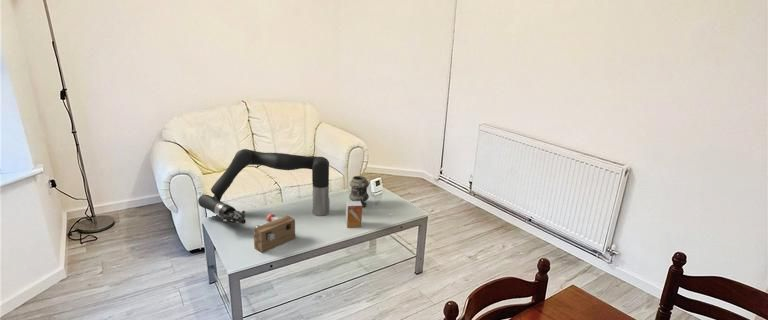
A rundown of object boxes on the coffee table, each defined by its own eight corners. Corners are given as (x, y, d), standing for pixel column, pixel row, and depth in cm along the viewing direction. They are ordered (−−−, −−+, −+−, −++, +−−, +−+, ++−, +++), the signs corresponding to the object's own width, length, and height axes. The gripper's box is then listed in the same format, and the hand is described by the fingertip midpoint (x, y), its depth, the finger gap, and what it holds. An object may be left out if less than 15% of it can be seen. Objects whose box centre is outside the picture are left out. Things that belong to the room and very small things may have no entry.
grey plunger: (253, 234, 204) (253, 226, 202) (261, 231, 207) (260, 223, 206) (268, 243, 197) (268, 234, 195) (276, 240, 200) (276, 231, 199)
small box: (347, 228, 228) (347, 206, 224) (345, 222, 234) (346, 201, 230) (361, 227, 230) (362, 205, 226) (359, 222, 236) (360, 200, 232)
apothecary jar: (359, 199, 266) (361, 173, 261) (372, 206, 258) (373, 178, 253) (344, 204, 258) (345, 176, 253) (357, 210, 250) (358, 182, 245)
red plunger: (266, 222, 216) (266, 215, 215) (273, 220, 220) (273, 212, 218) (281, 230, 209) (281, 222, 208) (288, 227, 213) (288, 219, 211)
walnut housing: (254, 248, 202) (253, 228, 199) (287, 234, 218) (287, 215, 214) (262, 253, 199) (261, 232, 196) (295, 238, 214) (294, 219, 211)
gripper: (212, 208, 215) (232, 219, 205) (235, 201, 225) (255, 211, 215) (213, 221, 217) (232, 232, 207) (236, 214, 227) (255, 224, 217)
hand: (244, 221), depth 211 cm, fingers closed
